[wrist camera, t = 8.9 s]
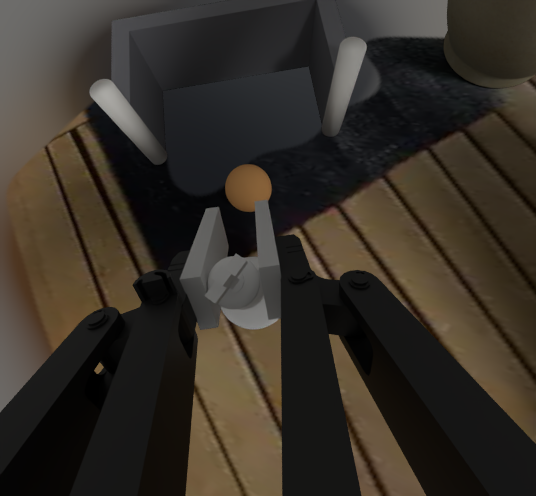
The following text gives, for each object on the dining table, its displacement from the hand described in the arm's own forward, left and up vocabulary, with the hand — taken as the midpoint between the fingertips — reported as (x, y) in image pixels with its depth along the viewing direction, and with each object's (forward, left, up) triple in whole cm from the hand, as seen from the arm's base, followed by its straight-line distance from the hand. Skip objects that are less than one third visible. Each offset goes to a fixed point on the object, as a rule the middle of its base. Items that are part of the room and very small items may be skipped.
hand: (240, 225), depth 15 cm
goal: (-4, -15, -7) cm, 17 cm away
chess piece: (+1, +4, -3) cm, 5 cm away
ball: (-2, -5, -5) cm, 7 cm away
